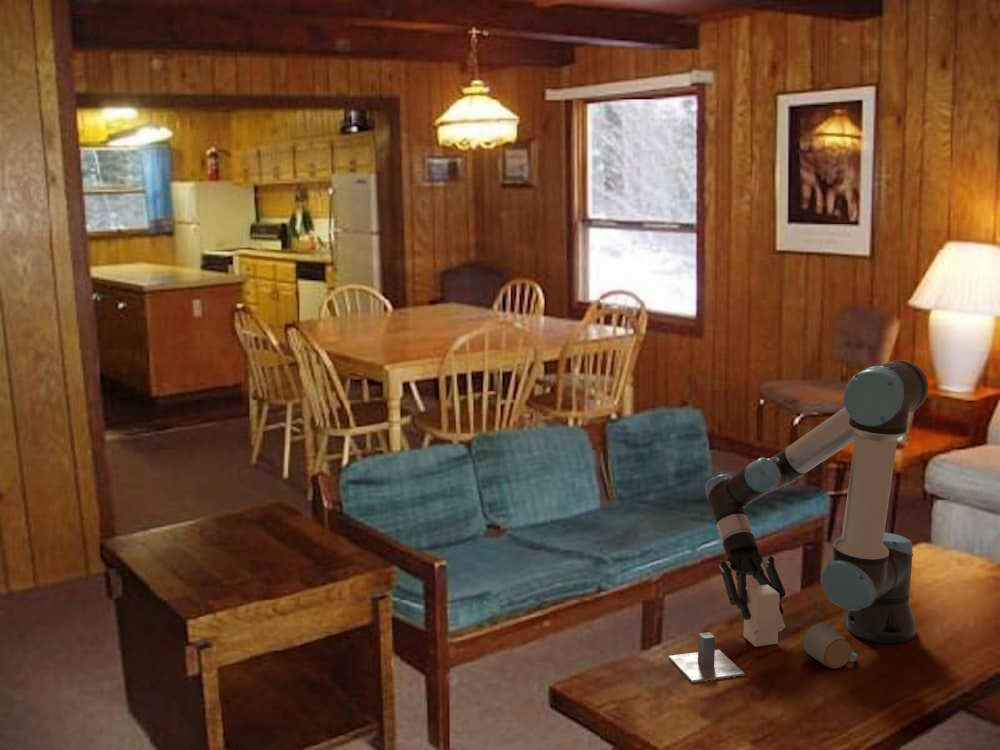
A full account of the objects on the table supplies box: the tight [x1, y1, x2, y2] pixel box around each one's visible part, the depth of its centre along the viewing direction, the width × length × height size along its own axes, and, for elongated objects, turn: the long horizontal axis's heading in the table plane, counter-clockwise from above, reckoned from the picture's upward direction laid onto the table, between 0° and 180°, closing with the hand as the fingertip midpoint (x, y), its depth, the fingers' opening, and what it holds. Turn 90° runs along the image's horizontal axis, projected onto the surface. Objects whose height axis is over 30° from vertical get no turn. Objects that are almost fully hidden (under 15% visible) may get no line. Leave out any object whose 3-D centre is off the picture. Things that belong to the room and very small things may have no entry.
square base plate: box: [668, 632, 745, 684], centre depth 228 cm, size 12×12×7 cm
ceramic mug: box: [802, 622, 858, 670], centre depth 230 cm, size 11×8×8 cm
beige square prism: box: [743, 584, 780, 647], centre depth 241 cm, size 6×6×12 cm
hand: (768, 630), depth 237 cm, fingers closed on beige square prism, 6 cm apart
